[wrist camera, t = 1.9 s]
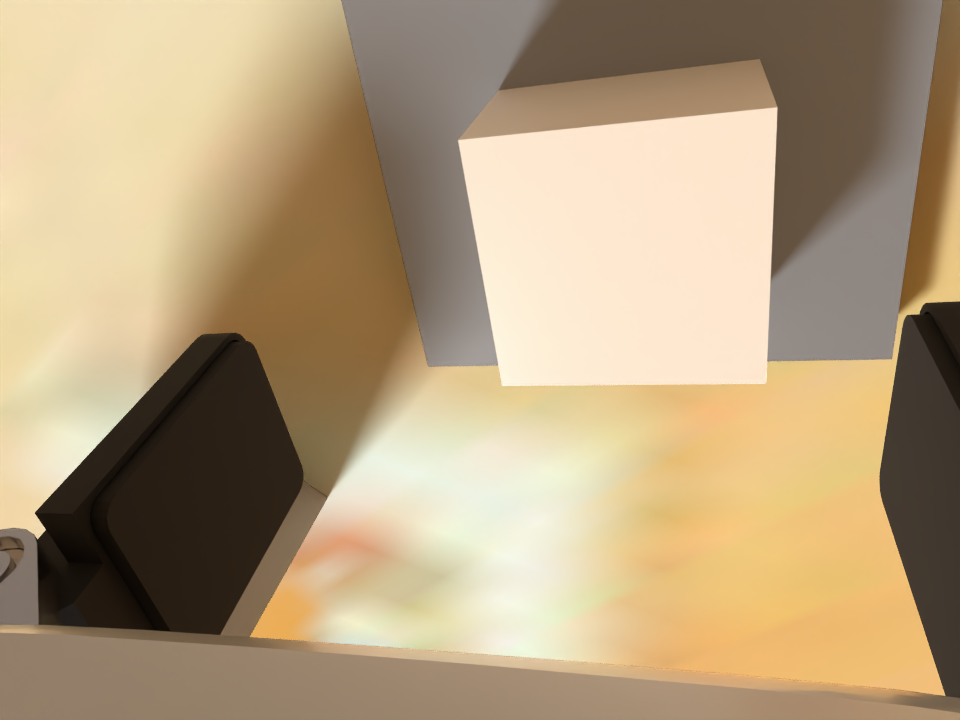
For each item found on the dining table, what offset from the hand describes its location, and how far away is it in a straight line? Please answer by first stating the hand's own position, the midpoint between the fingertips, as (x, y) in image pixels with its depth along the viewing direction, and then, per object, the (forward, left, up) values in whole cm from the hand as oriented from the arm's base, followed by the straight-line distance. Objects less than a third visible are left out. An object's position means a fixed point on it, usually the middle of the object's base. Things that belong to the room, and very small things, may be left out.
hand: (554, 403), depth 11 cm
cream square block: (-1, +1, -10) cm, 10 cm away
